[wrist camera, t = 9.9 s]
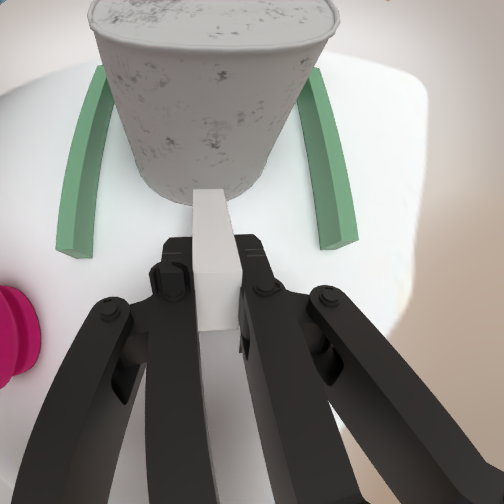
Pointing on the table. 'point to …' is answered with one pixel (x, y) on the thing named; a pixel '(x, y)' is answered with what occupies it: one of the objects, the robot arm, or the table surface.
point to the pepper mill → (17, 334)
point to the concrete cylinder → (207, 83)
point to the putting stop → (317, 145)
